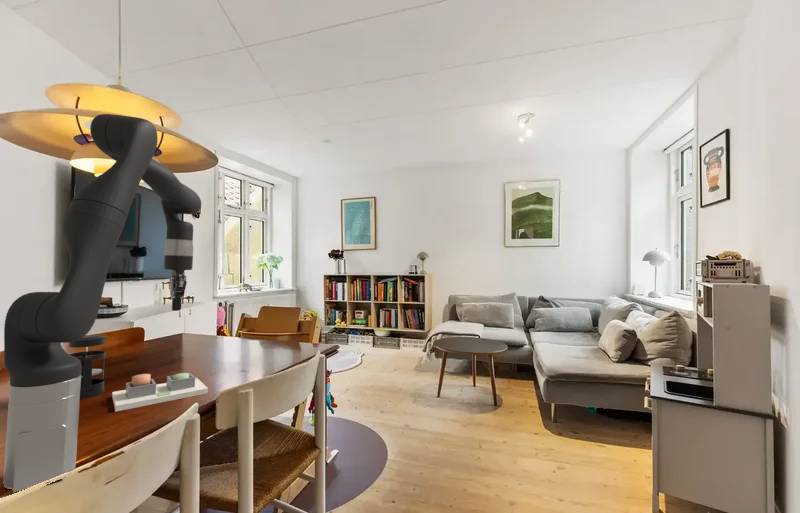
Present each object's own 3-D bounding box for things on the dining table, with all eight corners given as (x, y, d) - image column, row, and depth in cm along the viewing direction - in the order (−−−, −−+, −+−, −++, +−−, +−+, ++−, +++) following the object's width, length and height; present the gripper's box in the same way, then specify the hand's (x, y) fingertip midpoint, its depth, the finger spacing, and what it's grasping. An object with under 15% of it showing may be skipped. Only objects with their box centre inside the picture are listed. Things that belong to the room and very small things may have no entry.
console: (207, 393, 107) (208, 378, 107) (115, 411, 92) (116, 394, 92) (196, 382, 117) (197, 368, 117) (112, 397, 102) (112, 381, 102)
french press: (61, 393, 105) (66, 316, 106) (102, 386, 111) (106, 314, 112) (63, 403, 96) (68, 320, 98) (107, 395, 103) (111, 317, 104)
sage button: (190, 385, 108) (190, 375, 108) (173, 388, 105) (174, 377, 105) (187, 381, 111) (187, 372, 111) (170, 384, 108) (171, 374, 108)
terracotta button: (151, 386, 101) (151, 376, 101) (132, 390, 98) (132, 379, 98) (149, 383, 104) (149, 372, 104) (130, 386, 101) (131, 375, 101)
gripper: (197, 254, 106) (195, 311, 105) (188, 255, 116) (185, 308, 115) (168, 253, 101) (165, 313, 100) (161, 254, 111) (158, 309, 110)
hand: (176, 310), depth 108 cm, fingers closed
